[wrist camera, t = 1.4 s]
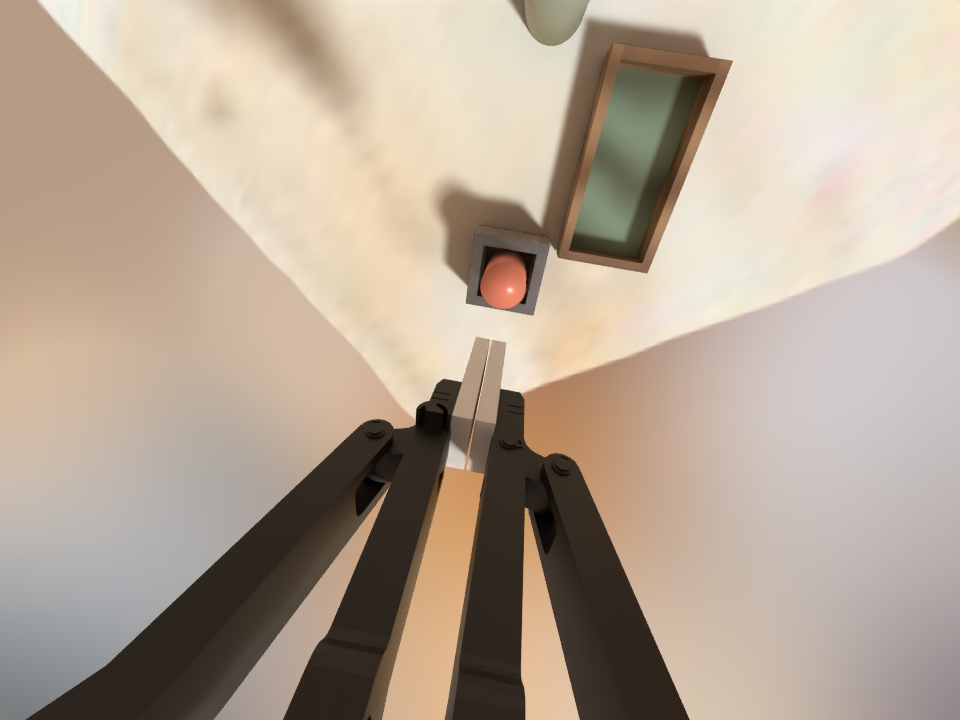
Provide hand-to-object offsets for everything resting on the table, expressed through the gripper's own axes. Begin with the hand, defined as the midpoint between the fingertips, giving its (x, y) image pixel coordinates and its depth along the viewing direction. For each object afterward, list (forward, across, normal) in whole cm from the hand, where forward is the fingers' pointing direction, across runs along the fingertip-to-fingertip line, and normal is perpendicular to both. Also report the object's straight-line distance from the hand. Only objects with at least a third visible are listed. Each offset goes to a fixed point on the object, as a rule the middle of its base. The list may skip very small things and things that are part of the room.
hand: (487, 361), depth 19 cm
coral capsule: (+19, 0, 0) cm, 19 cm away
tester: (+20, 0, 0) cm, 20 cm away
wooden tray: (+20, +9, +10) cm, 24 cm away
